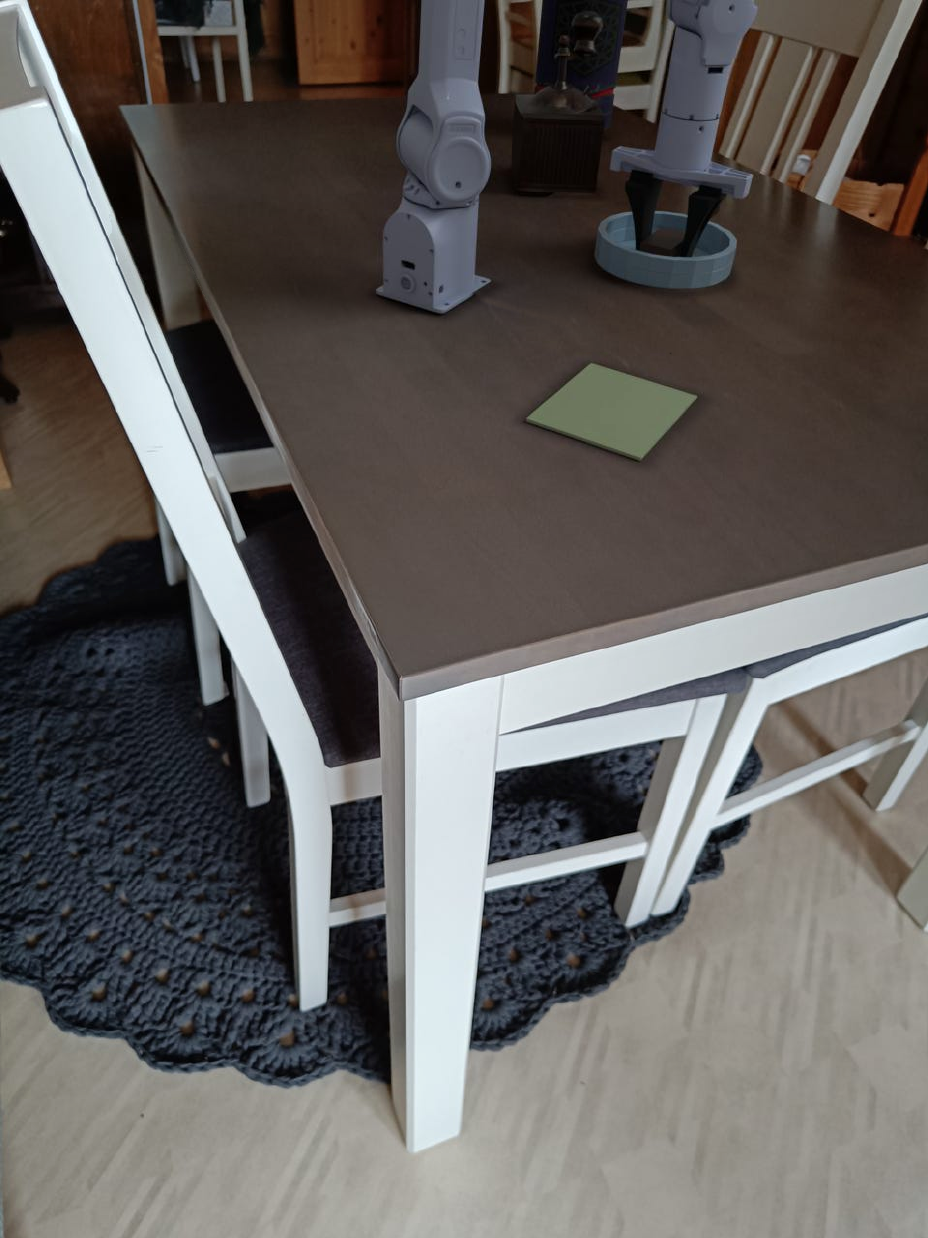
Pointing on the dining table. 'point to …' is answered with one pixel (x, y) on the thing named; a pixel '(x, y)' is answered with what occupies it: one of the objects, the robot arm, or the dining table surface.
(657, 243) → the chocolate
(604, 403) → the cloth
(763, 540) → the dining table surface
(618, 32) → the dark blue tall block
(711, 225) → the pan
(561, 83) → the vintage coffee grinder
